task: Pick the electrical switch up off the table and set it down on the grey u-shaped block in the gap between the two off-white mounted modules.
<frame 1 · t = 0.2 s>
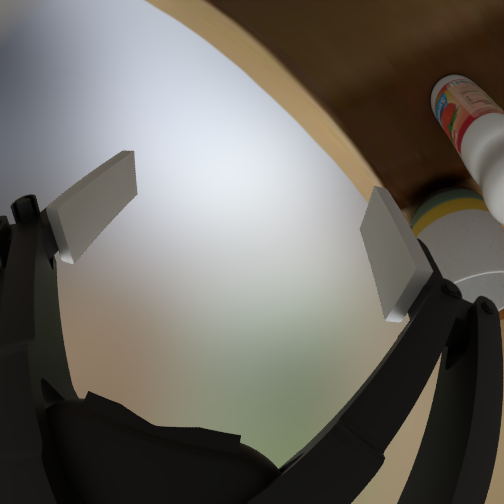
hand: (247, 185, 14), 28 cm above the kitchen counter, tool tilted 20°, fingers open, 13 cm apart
fruit juice: (455, 99, 28), on the kitchen counter
planter: (444, 203, 45), on the kitchen counter
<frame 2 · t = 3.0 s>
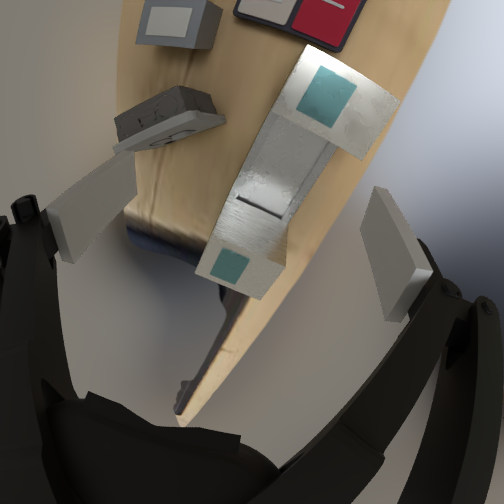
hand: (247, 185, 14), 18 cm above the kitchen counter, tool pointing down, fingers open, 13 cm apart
electrical switch: (182, 114, 29), on the kitchen counter
grey u-shaped block: (284, 159, 31), on the kitchen counter
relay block: (191, 26, 22), on the kitchen counter
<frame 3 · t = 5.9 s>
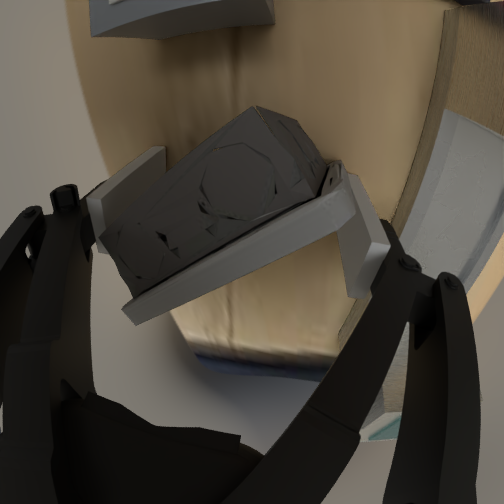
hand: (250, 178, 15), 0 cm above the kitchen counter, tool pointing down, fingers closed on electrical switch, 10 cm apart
electrical switch: (247, 173, 16), on the kitchen counter, touching gripper
grey u-shaped block: (448, 218, 15), on the kitchen counter
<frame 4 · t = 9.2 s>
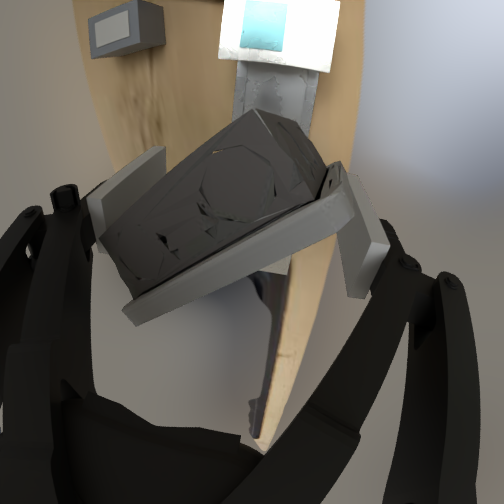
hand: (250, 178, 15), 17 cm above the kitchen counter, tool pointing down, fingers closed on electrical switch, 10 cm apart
electrical switch: (246, 174, 16), point 16 cm above the kitchen counter, touching gripper
grey u-shaped block: (271, 121, 28), on the kitchen counter
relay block: (141, 31, 23), on the kitchen counter
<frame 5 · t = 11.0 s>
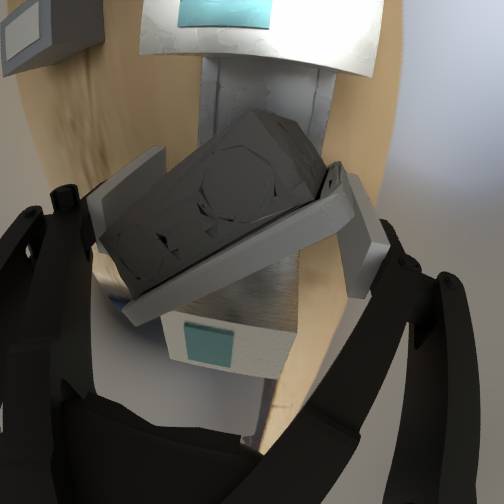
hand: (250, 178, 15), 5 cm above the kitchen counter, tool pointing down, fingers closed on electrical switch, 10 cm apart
electrical switch: (246, 174, 16), point 4 cm above the kitchen counter, touching gripper
grey u-shaped block: (259, 150, 19), on the kitchen counter
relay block: (75, 27, 13), on the kitchen counter
when the fingers open (3 cm above the kitchen counter, at t = 12.4 s): electrical switch drops 1 cm, resting on grey u-shaped block.
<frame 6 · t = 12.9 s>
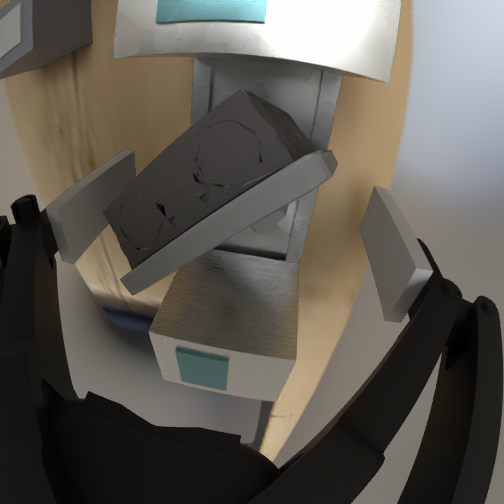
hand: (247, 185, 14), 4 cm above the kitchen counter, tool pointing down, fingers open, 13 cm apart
electrical switch: (244, 165, 17), point 2 cm above the kitchen counter, touching grey u-shaped block
grey u-shaped block: (257, 159, 18), on the kitchen counter
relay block: (62, 28, 12), on the kitchen counter
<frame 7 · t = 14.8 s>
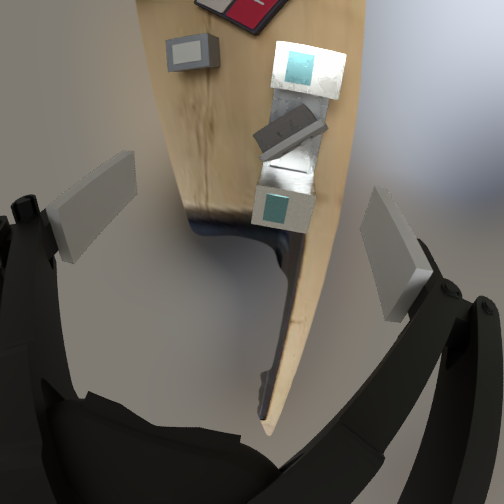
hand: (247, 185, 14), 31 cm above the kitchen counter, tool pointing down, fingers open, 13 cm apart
electrical switch: (291, 129, 39), point 1 cm above the kitchen counter, touching grey u-shaped block
grey u-shaped block: (295, 128, 40), on the kitchen counter
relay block: (200, 54, 35), on the kitchen counter
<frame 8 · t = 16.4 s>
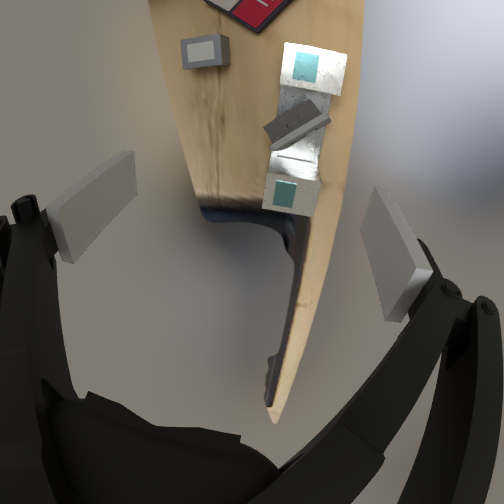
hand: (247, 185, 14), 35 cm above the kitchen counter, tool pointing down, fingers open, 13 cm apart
electrical switch: (297, 122, 42), point 1 cm above the kitchen counter, touching grey u-shaped block
grey u-shaped block: (300, 121, 43), on the kitchen counter
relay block: (211, 52, 37), on the kitchen counter
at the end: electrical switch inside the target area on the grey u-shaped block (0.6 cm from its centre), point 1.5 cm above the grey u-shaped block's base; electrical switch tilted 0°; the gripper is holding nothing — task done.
